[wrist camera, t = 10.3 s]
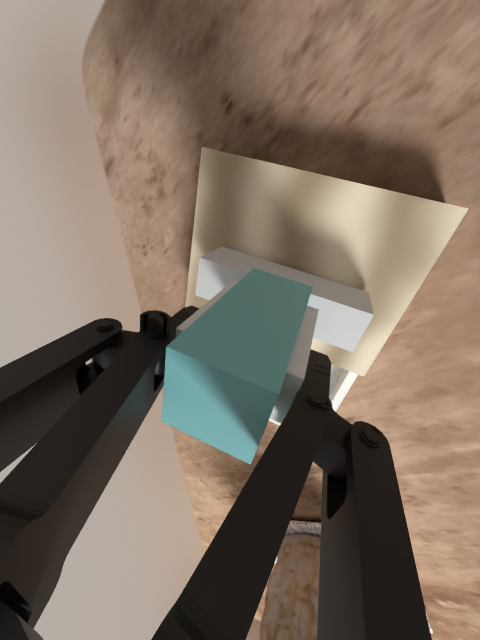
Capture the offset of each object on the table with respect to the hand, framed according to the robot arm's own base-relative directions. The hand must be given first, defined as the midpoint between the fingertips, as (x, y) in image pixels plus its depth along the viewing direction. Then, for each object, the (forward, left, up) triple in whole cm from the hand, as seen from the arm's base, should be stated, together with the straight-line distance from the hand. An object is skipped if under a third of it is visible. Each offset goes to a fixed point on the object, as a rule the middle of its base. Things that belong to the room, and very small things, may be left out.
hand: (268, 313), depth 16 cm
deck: (0, -1, -10) cm, 10 cm away
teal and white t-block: (0, 0, -6) cm, 6 cm away
